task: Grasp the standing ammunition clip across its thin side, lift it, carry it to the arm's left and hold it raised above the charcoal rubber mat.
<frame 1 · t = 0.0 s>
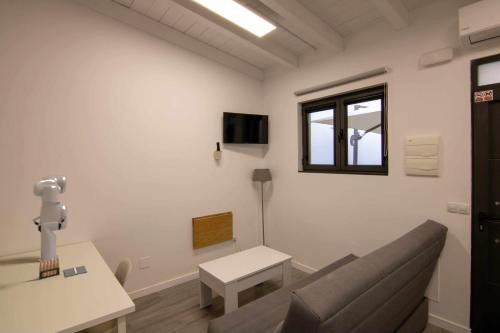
hand: (49, 230, 163), 31 cm above the table, fingers open, 9 cm apart
mat: (75, 271, 174), on the table
ammunition clip: (49, 277, 166), on the table
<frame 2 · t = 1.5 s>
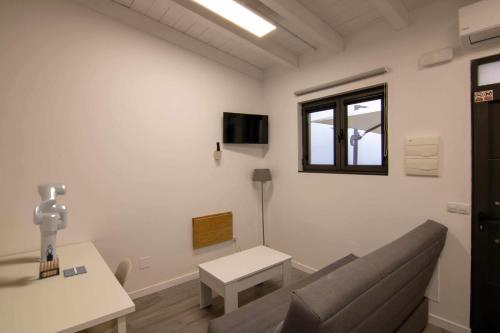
hand: (49, 259, 165), 12 cm above the table, fingers open, 9 cm apart
nothing on the table moved.
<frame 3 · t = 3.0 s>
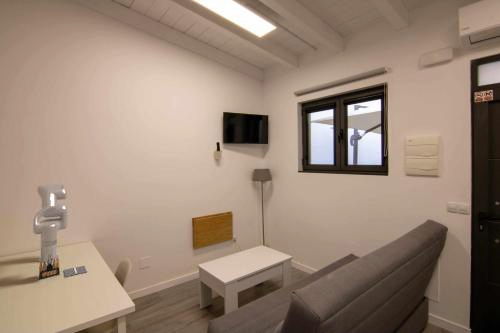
hand: (49, 270, 166), 4 cm above the table, fingers closed on ammunition clip, 2 cm apart
ammunition clip: (49, 277, 166), on the table, touching gripper
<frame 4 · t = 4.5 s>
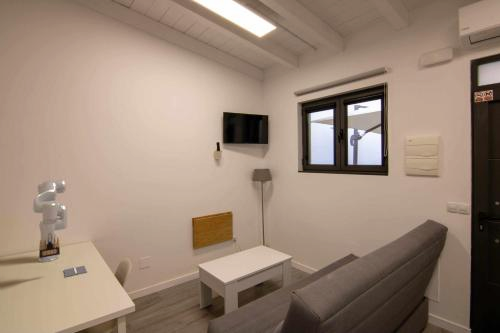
hand: (49, 248, 166), 18 cm above the table, fingers closed on ammunition clip
ammunition clip: (49, 256, 166), point 13 cm above the table, touching gripper
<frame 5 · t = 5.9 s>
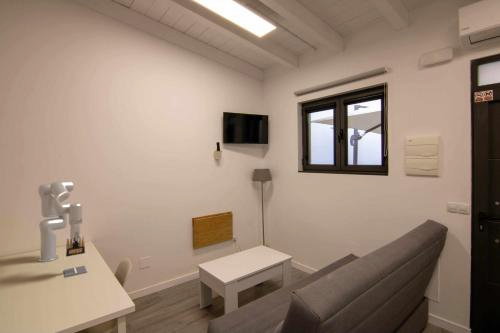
hand: (75, 247, 174), 16 cm above the table, fingers closed on ammunition clip
ammunition clip: (75, 254, 174), point 12 cm above the table, touching gripper
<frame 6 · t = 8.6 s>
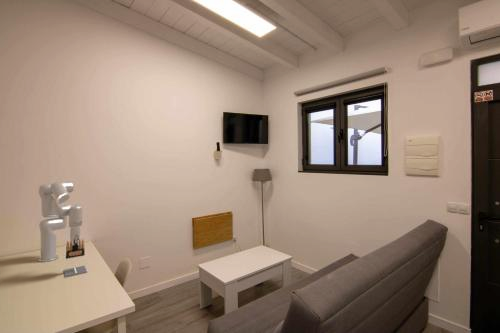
hand: (75, 250, 174), 15 cm above the table, fingers closed on ammunition clip
ammunition clip: (75, 257, 174), point 10 cm above the table, touching gripper
at the end: the gripper is holding ammunition clip; ammunition clip point 10.1 cm above the table; ammunition clip inside the target area on the mat (0.2 cm from its centre), point 10.1 cm above the mat's base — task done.
